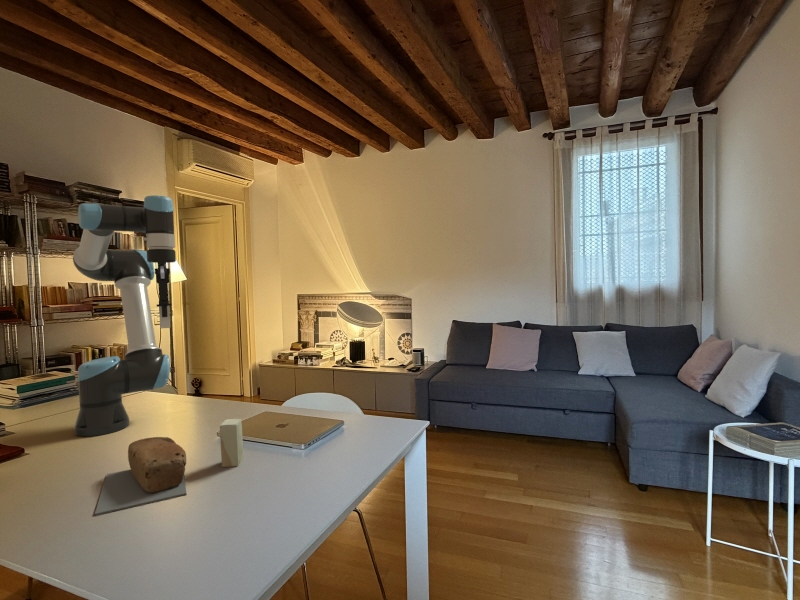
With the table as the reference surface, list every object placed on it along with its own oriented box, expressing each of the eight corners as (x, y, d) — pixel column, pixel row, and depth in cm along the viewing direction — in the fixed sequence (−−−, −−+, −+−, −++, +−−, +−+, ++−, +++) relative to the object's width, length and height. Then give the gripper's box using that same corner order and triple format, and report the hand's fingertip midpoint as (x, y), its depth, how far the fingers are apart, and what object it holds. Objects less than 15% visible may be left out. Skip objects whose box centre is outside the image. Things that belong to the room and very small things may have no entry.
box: (227, 459, 118) (225, 418, 117) (244, 458, 118) (242, 417, 118) (221, 467, 113) (219, 425, 112) (238, 466, 113) (236, 424, 112)
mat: (107, 475, 110) (106, 474, 110) (182, 460, 118) (182, 459, 118) (94, 515, 90) (94, 513, 90) (186, 494, 98) (186, 493, 98)
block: (125, 469, 112) (143, 498, 97) (125, 440, 112) (143, 464, 97) (172, 458, 119) (195, 483, 104) (171, 431, 119) (195, 452, 104)
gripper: (147, 250, 135) (151, 327, 136) (145, 247, 123) (150, 330, 124) (174, 250, 138) (178, 325, 139) (175, 247, 127) (179, 328, 128)
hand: (165, 327), depth 132 cm, fingers closed
